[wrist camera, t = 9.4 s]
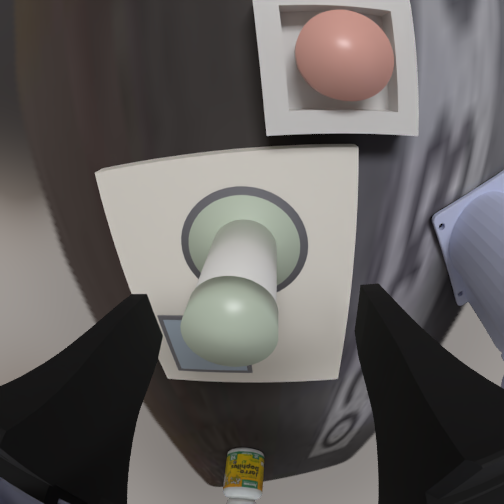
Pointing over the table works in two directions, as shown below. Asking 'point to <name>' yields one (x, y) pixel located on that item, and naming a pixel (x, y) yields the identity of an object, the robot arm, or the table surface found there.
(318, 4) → the button box
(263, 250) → the marker
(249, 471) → the supplement bottle
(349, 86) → the button
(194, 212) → the picture board
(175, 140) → the table surface
